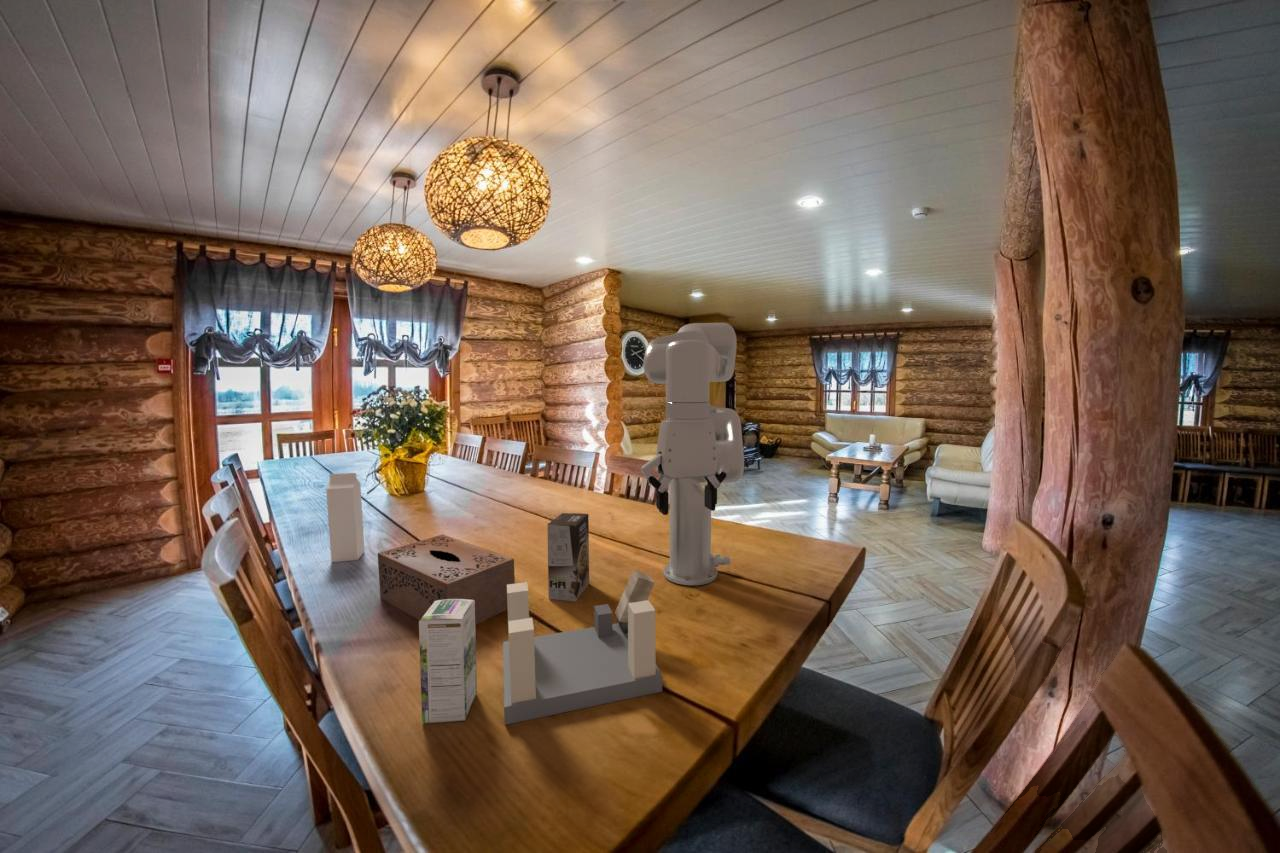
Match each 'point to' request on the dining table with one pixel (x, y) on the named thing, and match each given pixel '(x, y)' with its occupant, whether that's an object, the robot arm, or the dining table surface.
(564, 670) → the footstool
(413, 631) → the dining table surface
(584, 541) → the coffee box
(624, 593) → the folding leg
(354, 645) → the dining table surface
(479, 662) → the dining table surface
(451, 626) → the syrup box
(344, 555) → the milk
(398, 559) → the tissue box cover
